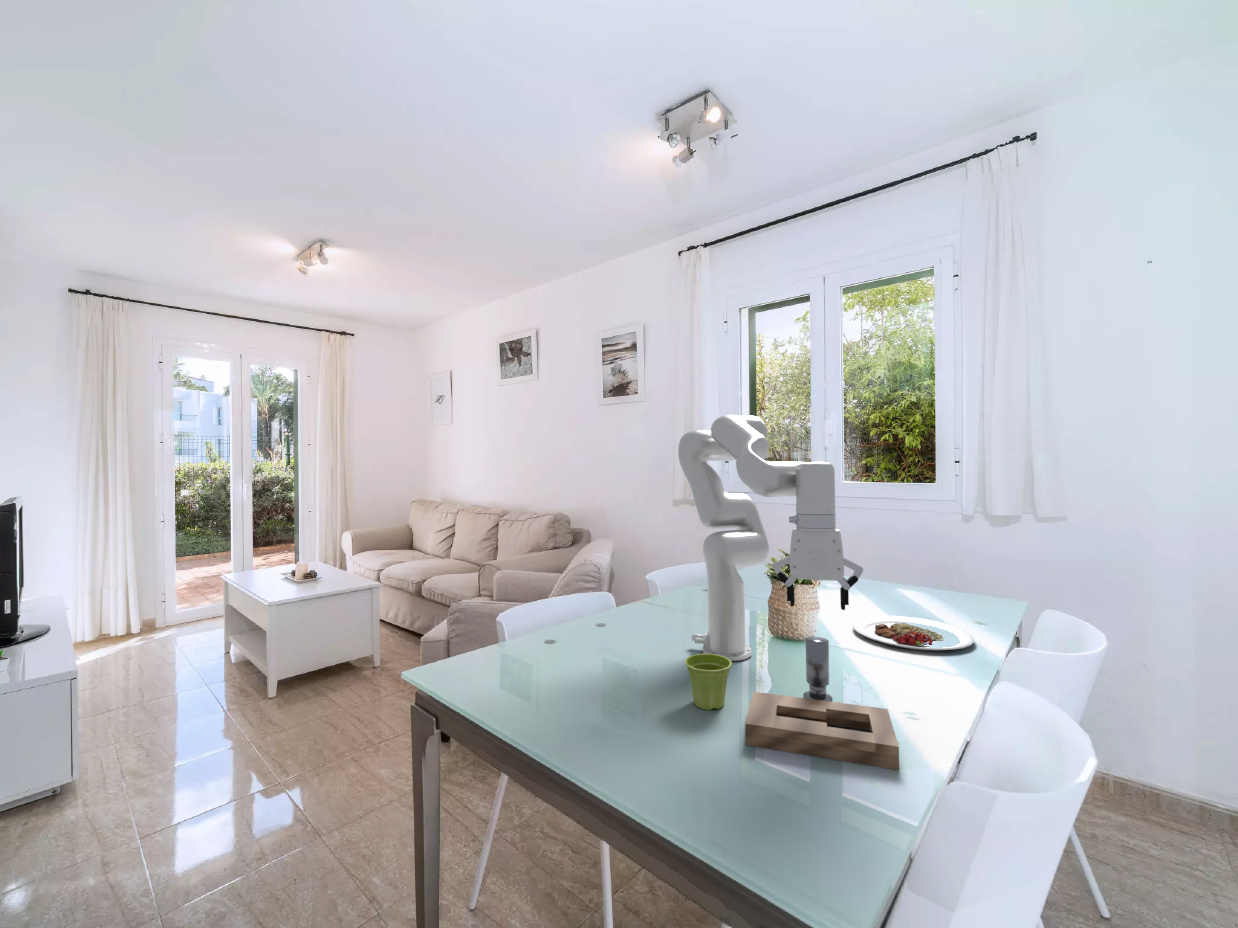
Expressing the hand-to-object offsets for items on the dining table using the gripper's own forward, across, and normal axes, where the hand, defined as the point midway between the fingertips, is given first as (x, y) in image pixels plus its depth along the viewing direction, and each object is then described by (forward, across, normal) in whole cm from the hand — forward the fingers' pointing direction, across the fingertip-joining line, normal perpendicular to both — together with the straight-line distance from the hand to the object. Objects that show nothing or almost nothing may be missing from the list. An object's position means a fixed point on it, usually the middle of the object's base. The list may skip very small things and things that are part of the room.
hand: (817, 606), depth 109 cm
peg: (+20, 0, 0) cm, 20 cm away
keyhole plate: (+20, 0, -14) cm, 24 cm away
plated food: (+20, +25, +54) cm, 63 cm away
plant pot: (+20, -21, -7) cm, 30 cm away
